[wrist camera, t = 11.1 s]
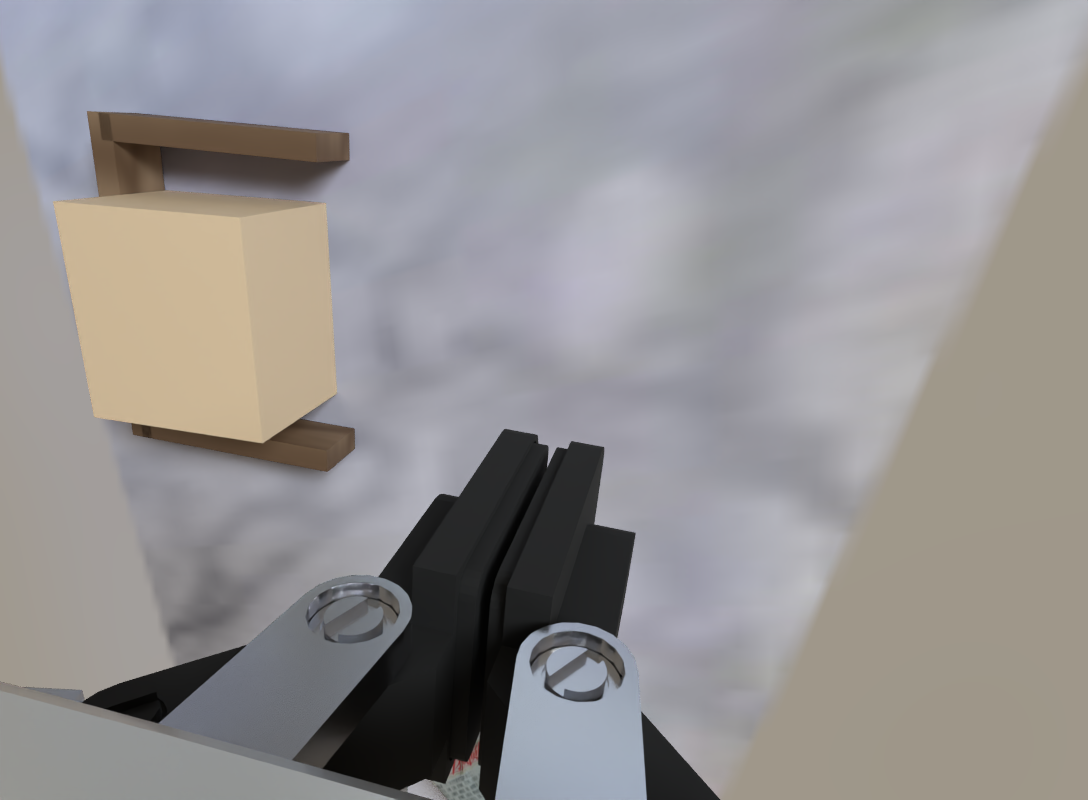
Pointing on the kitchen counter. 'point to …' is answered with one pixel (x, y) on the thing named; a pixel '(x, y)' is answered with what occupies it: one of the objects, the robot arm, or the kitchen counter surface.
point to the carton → (201, 309)
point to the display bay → (136, 167)
